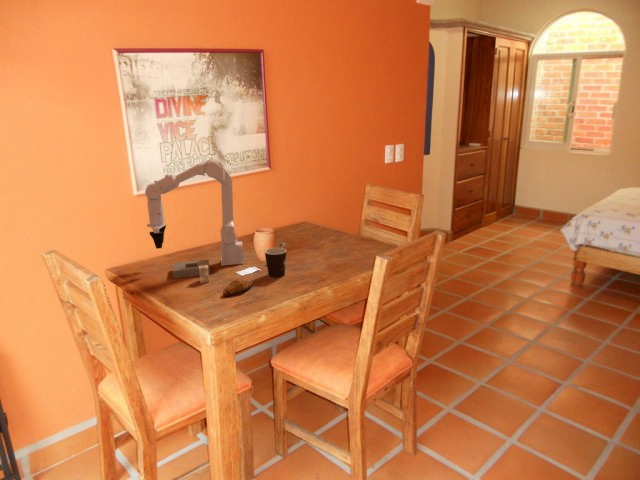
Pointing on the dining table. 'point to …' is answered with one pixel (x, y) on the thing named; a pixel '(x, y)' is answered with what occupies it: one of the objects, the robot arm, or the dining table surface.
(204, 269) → the peg
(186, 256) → the dining table surface
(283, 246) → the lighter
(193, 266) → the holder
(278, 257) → the coffee mug
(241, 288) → the croissant
